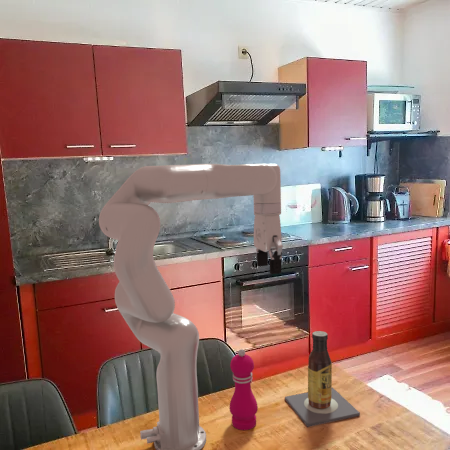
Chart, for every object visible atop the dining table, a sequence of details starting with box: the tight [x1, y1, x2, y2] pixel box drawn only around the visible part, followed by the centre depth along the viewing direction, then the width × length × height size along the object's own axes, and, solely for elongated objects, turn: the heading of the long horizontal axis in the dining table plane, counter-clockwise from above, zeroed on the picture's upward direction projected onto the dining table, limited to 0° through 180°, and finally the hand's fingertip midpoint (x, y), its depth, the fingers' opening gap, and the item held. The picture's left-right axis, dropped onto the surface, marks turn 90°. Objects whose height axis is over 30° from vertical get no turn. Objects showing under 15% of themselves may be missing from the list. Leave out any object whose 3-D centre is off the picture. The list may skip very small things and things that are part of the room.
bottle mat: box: [284, 387, 361, 428], centre depth 121 cm, size 15×14×1 cm
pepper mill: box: [229, 348, 259, 431], centre depth 114 cm, size 7×7×20 cm
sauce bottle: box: [307, 330, 333, 409], centre depth 120 cm, size 6×6×20 cm
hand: (268, 269), depth 126 cm, fingers open, 9 cm apart
